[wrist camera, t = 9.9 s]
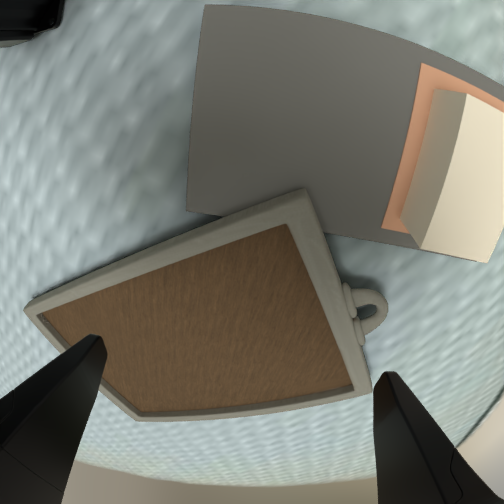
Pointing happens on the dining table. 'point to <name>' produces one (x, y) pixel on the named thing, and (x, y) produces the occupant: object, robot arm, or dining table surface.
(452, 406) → the dining table surface
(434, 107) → the beige rectangular block
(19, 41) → the robot arm
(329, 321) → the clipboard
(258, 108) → the mat
